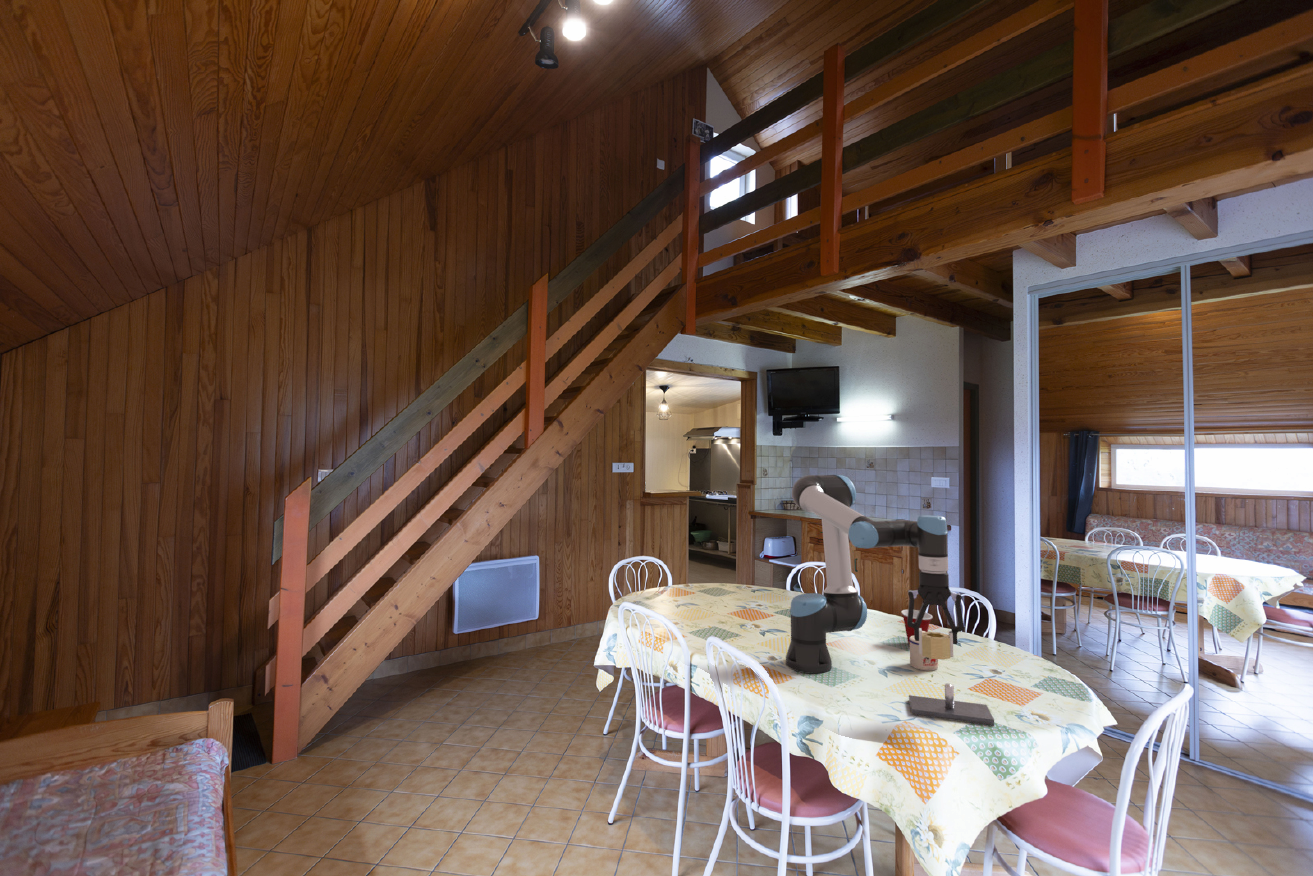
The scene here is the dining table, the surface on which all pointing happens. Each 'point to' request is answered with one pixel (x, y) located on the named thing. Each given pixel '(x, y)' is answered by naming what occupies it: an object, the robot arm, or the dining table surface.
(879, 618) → the dining table surface
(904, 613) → the plastic cup
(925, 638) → the ring
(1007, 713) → the dining table surface
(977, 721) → the shaft stand
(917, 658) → the teacup with lid
